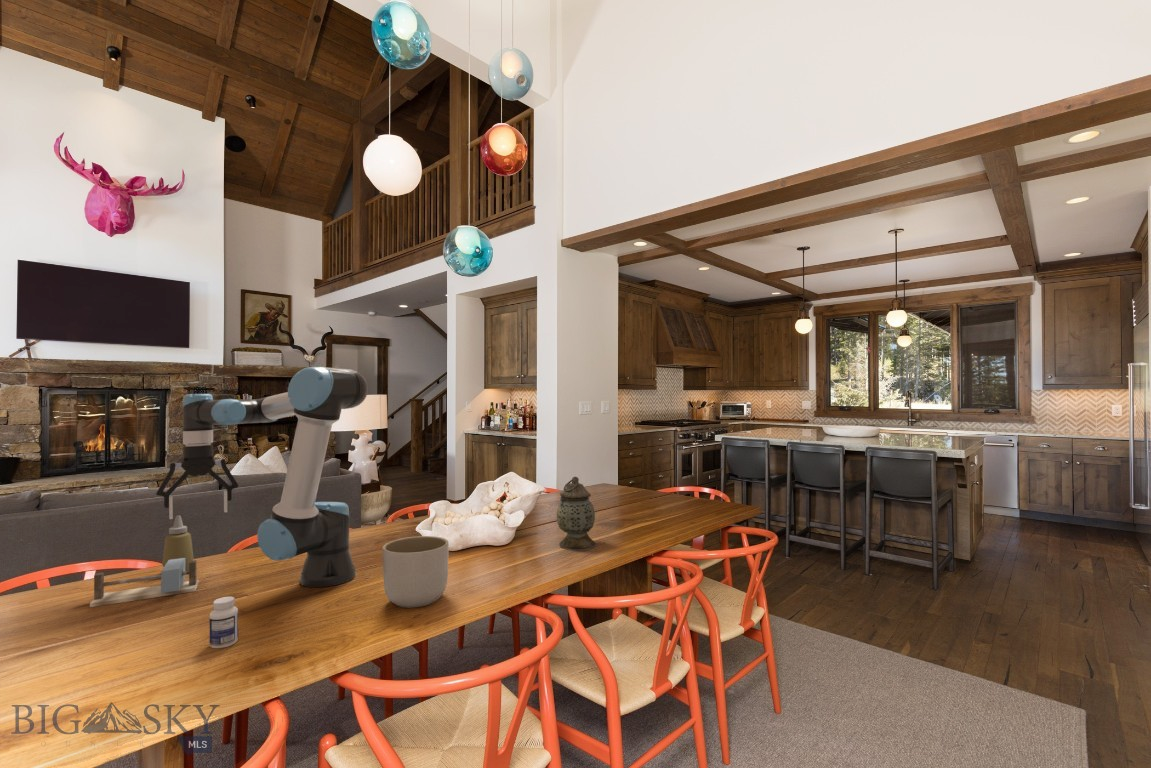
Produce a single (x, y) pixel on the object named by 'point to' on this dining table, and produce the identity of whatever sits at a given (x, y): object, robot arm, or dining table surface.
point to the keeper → (172, 575)
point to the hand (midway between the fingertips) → (199, 515)
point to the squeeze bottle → (178, 544)
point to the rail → (138, 593)
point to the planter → (415, 570)
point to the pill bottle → (223, 623)
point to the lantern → (575, 516)
